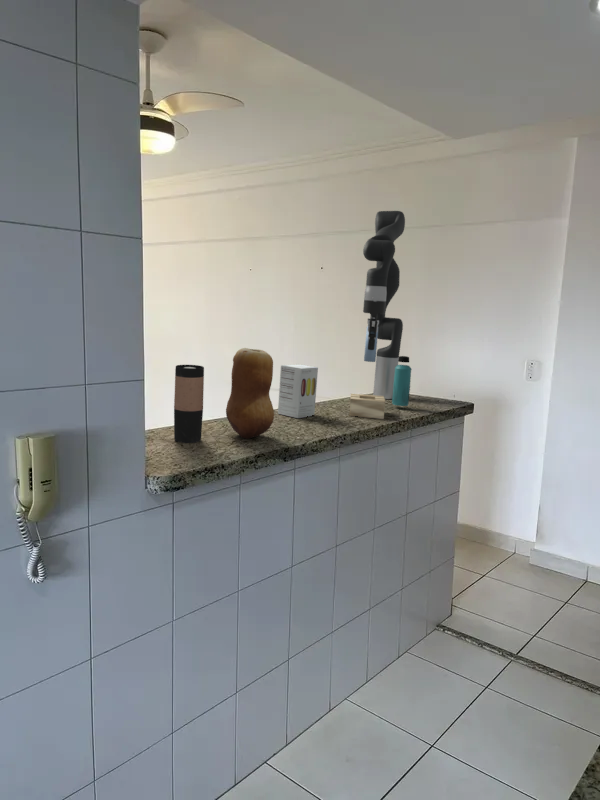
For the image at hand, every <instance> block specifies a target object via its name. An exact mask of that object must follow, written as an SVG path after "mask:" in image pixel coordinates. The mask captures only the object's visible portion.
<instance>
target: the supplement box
mask: <svg viewBox="0 0 600 800" xmlns="http://www.w3.org/2000/svg"><path fill="white" fill-rule="evenodd" d="M318 370H319V367H318V366H312V365H305V364H299V363H298V364H297V363H296V364H281V365H280V372H279V373H280V374H279V375H280V376H279V388H278V391H279V392H278V402H277V403H278V407H277V414H279V415H283V416H287V417H291V418H295V419H301V418H306V417H307V416H308V417H312V415H314V416H315V410H316V397H317V385H318V384H317V383H318Z"/></svg>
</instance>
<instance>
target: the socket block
mask: <svg viewBox="0 0 600 800" xmlns="http://www.w3.org/2000/svg"><path fill="white" fill-rule="evenodd" d="M385 408H386V399H384V396H377V395H373V394H362V393H350V400H349V410H350V411H348V412H349V414H348V416H349V417H355V416H358V417H357V418H371V419H381V420H382V419H383V420H384V419H385Z"/></svg>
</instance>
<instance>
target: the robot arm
mask: <svg viewBox="0 0 600 800" xmlns="http://www.w3.org/2000/svg"><path fill="white" fill-rule="evenodd" d="M374 226H375V227H374V230H375V235H373V236H372V237H370V238H369V239H367V241H365V244H364V246H363V250H362V251H363V256H364V258H365V260H366V261H368V262H369V261H370V262H376V266H375V267H372V268H369V269H367V272H366V283H365V290H364V295H363V296H364V297H363V308H362V309H363V310H362V311H363V313H364V314H369V315H370V316H369V318H367V326H368V332H369V335H368V339H369V341H368V350H374V346H375V339H376V333H377V331H378V337H377V340H382V341H383V340H384V341H390V344H389V345H387V346H385V347H381V348H378V349H376V360H375V369H374V370H375V371H374V382H373V394H372V395H377V396H384V399H385V400H392V398H393V396H392V395H393V393H392V392H393V384H394V375H395V367H396V366H397V365H399V362H398V360H399V356H400V350H401V343H402V337H403V329H404V328H403V327H404V325H403V324H404V323H403V320H402V319H401V318H397V317H387V316H386V311H387V308H388V305H389V303H390V302H391V301H392V299H393V298H394V296H395V294H396V293H397V292H398V290H399V287H400V267H399V265H398V263H397V261H396V260H395V258H394V256H395V252H396V246H395V244H394V243H395V241H396V240H397V239H399V237H400V236H402V234H404V230H405V227H406V218H405V214H404V212H403V211H401V210H379V211H377V212H376V214H375V221H374ZM369 326H370V327H369ZM370 332H374V333H375V334H370Z"/></svg>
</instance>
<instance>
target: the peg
mask: <svg viewBox="0 0 600 800" xmlns="http://www.w3.org/2000/svg"><path fill="white" fill-rule="evenodd" d="M369 327H370V326H369ZM370 334H375V333H374V332H370ZM368 335H369V332H368V325H367V326H366V333H365V343H364V344H365V346H364V356H363V361H364V362H369V363H376V356H377V350H378V349H377V347H378V339H377V337H378V331H377V333H376V339H375V346H374V350H368V341H369V339H368Z"/></svg>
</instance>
